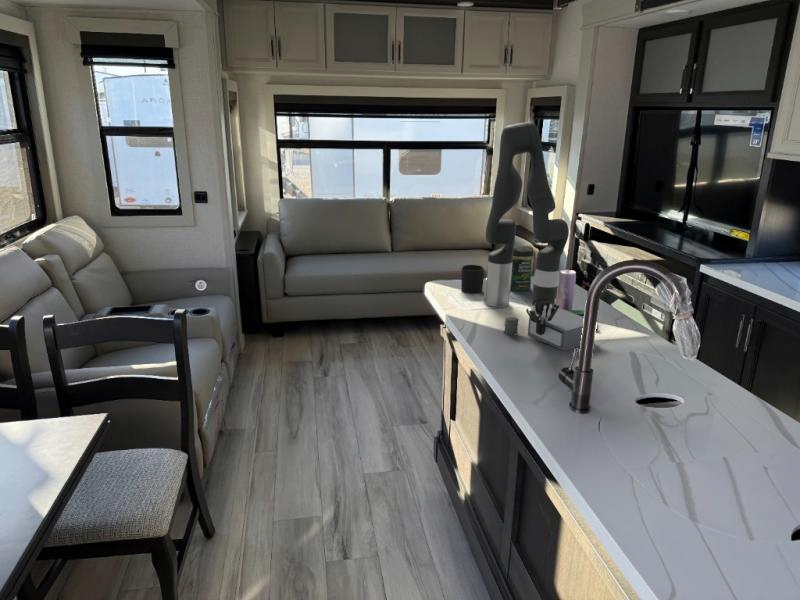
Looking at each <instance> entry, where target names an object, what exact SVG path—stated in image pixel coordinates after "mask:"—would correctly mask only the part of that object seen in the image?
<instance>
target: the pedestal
mask: <svg viewBox="0 0 800 600" xmlns="http://www.w3.org/2000/svg"><path fill="white" fill-rule="evenodd" d="M504 320H505V321H504V330H503V332H504V334H505V335H507V334H508V336H516V335H518V331H519V330H518V328H519V318H517V317H516V316H507V317H505V319H504Z"/></svg>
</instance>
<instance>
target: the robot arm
mask: <svg viewBox="0 0 800 600" xmlns="http://www.w3.org/2000/svg"><path fill="white" fill-rule="evenodd" d="M499 144H500V145H499V157H498V167H497V172H496V177H495V182H494V188H493V195H492V201H491V208H490V212H489V216H488V219H487V223H486V227H485V240H486V241H487V243H489V244H493V245H502V246H501V247H500V248H499V249H496V250H492V251H490V252H489V253H488V255H487V269H486V270H487V271H486V277H485V279H484V289H483V290H484V292H483V302H484V303H485V304H486V305H487V306H489V307H493V308H506V307H508V306H509V305H510V297H511V289H510V287H511V274H512V261H513V250H514V246H515V243H516V232H517V224H516V222H515V220H514V219H512V218H511V219H507V218H505V219H504V218H503V216H504V215H506V213H508V212H509V211H510V210H512V208H514V206H515V205H517V203H518V202H519V201H520V197H521V195H522V194H521V193H522V189H523V179H522V177H521V175H520V173H519V172H518V170H517V169H516V168H515V166H514V157H515V156H516V155H521V154H526V153H529V156H530V158H531V159H530V160H531V165H530V171H529V175H528V178H527V182H526V194H527V198H528V201H529V204H530V208H531V211H532V231H533V235H534V237H535V239H536V241H538V242H539V243H541V244H544V245H545V244H546V246H545V247H544V248H541V249H540V250H539V251H537V255H536V263H535V271H534V275H533V282H532V283H533V286H532V293H531V294H532V297H533V301H532V303H531V304H532V305H531V307H529V308H526V309H525V312H526V313H527V315H528V318H529V317H530V319H531V320H532V321H533V322H535V323H536V333H537V334H539V335H543V334H544V332H545V328H546V324H547V322H548V321H551V320H552V318H553V317H554V315H555V313H556V312H557V310H558V308H559V305H557V304H556V300H557V293H558V283H559V274H560V264H561V256H562V254H563V252H564V250H565V247H566V244H567V242H568V239H569V236H570V230H569V229H570V228H569V226H568V223H567V221H566V220H564V219H562V218H553V219H550V218H549V214H551V213H552V212H554V210H555V209H556V203H555V199H554V196H553V193H552V190H551V187H550V184H549V181H548V176H547V170H546V163H545V157H544V151H543V147H542V145H543V144H542V140H541V135H540V132H539V129H538V127H537V125H536V123H534V121H524V122H520V123H519V122H518V123H513V124H509V125H506V126H505V127H503V130H502V131H501V136H500V143H499ZM550 314H551V315H550ZM539 317H540V319H539Z"/></svg>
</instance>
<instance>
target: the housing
mask: <svg viewBox="0 0 800 600" xmlns="http://www.w3.org/2000/svg"><path fill="white" fill-rule="evenodd" d="M550 315H551V314H550ZM583 318H584V317H581V316H579V315H576V314H573V313H571V312H568V311H566V310H563V309H561V308H558V310H557V312H556V313H555V315H554V317H553V318H552V320H551V321H548V322H547V324H546V325H547V326H550V327H552V328H554V329H557V330H559V331H561V332H564V333H563V341H562V346H558V345H556V344H554V343H551V342H549V341H547V340H545V339H543V338H540V337H538V336H536V335H534V334H532V333H530V323H531V321H532V320H531V319H530V317H529V316H528V325H527V327H528V328H527V335H529V336H530V337H533V338H535V339H537V340H539V341H541V342H544V343H545V344H548V345H550V346H552V347H554V348H557V349H559V350H561V351H563V352H565V351H569V350H572V348H573V347H576V348H578V346H579V347H581V346H580V341H581V335H582V328H583ZM539 319H540V317H539ZM573 349H574V348H573Z"/></svg>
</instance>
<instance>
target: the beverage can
mask: <svg viewBox="0 0 800 600" xmlns="http://www.w3.org/2000/svg"><path fill="white" fill-rule="evenodd" d="M576 274H577V272H576V271H575V270H572V269H561V270H559V281H558V290H557V297H556V301H555V303H556V304H557V305H559V308H561V309H563V310H573V304H574V298H575V297H574V296H575V295H574V294H575V288H576V281H577V280H576V279H577V275H576Z"/></svg>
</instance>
